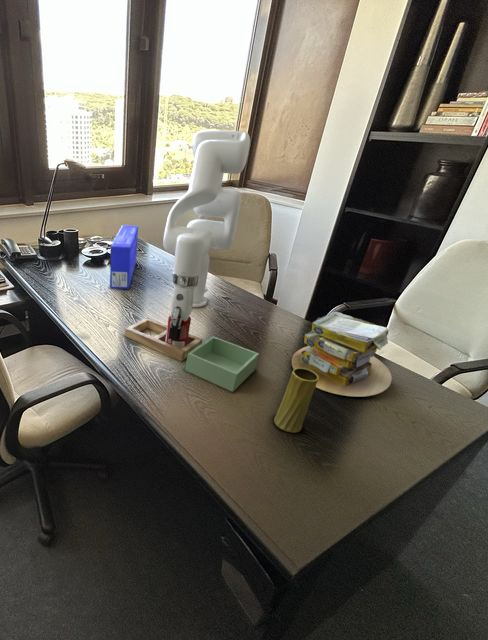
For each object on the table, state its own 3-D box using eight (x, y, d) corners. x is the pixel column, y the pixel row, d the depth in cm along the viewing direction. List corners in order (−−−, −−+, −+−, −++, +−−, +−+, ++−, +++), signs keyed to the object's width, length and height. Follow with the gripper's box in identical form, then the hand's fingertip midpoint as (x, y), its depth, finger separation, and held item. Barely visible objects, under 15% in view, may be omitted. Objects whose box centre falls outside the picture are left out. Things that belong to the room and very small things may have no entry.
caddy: (146, 325, 130) (146, 317, 128) (201, 347, 118) (202, 339, 116) (124, 336, 122) (125, 328, 120) (181, 361, 110) (182, 352, 108)
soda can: (185, 354, 114) (191, 318, 107) (163, 351, 115) (168, 315, 108) (186, 343, 119) (192, 309, 113) (165, 340, 120) (170, 306, 114)
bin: (209, 351, 115) (212, 335, 113) (254, 370, 107) (259, 353, 105) (184, 370, 106) (187, 353, 103) (232, 392, 98) (237, 374, 95)
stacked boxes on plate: (337, 406, 94) (362, 349, 86) (273, 356, 115) (288, 306, 106) (407, 391, 101) (437, 338, 93) (336, 347, 122) (355, 299, 113)
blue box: (120, 261, 191) (122, 224, 182) (136, 263, 191) (139, 226, 181) (108, 288, 158) (110, 245, 149) (128, 290, 157) (131, 246, 148)
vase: (269, 415, 90) (285, 366, 83) (293, 415, 90) (311, 366, 83) (281, 433, 85) (299, 382, 77) (306, 432, 85) (327, 382, 78)
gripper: (192, 291, 97) (183, 347, 106) (203, 272, 111) (194, 323, 120) (165, 286, 99) (158, 342, 108) (178, 268, 114) (171, 319, 122)
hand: (177, 332), depth 114 cm, fingers open, 9 cm apart
